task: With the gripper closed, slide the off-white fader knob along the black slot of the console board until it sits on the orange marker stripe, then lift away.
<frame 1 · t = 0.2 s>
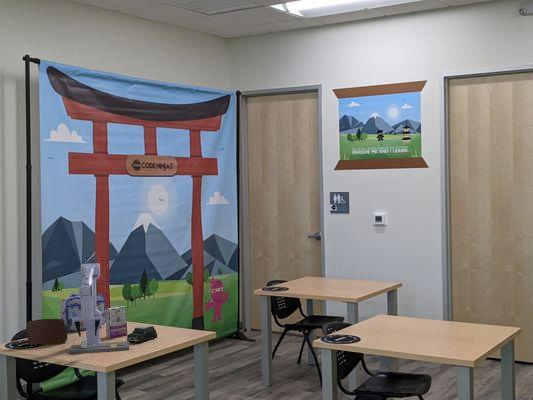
hand: (87, 335, 357), 10 cm above the table, tool pointing down, fingers open, 7 cm apart
fader knob: (83, 343, 368), point 4 cm above the table, slide at 0.0 cm
lunch box: (83, 329, 427), on the table
console board: (100, 348, 371), on the table
miniature car: (142, 341, 390), on the table
candy bar box: (116, 336, 403), on the table
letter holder: (47, 343, 391), on the table
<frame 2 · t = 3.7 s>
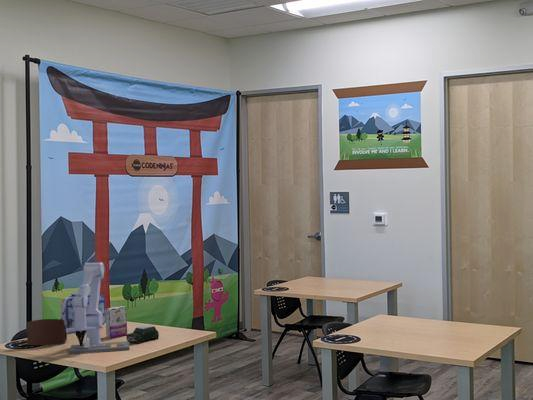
hand: (81, 345, 368), 3 cm above the table, tool pointing down, fingers closed
fader knob: (86, 342, 368), point 4 cm above the table, slide at 1.4 cm, touching gripper
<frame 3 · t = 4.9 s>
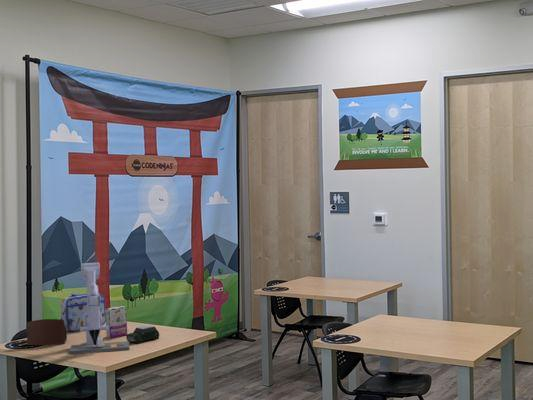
hand: (95, 344, 369), 3 cm above the table, tool pointing down, fingers closed
fader knob: (100, 342, 369), point 4 cm above the table, slide at 8.3 cm, touching gripper
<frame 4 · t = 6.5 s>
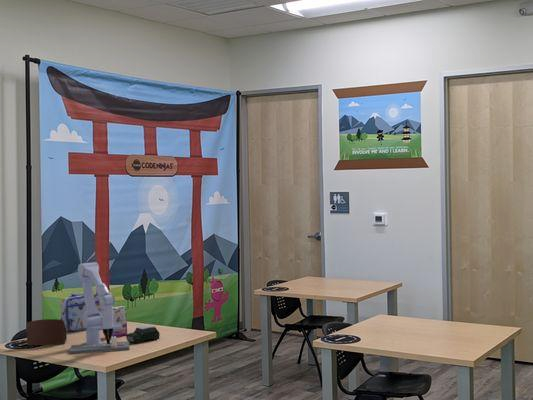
hand: (108, 343, 370), 3 cm above the table, tool pointing down, fingers closed
fader knob: (113, 341, 371), point 4 cm above the table, slide at 15.1 cm, touching gripper
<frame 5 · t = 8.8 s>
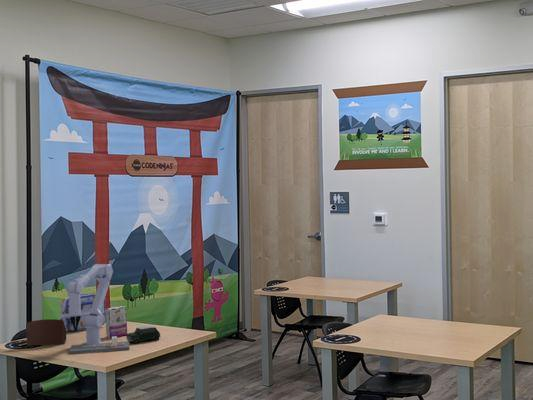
hand: (75, 331, 370), 10 cm above the table, tool pointing down, fingers closed
fader knob: (114, 341, 371), point 4 cm above the table, slide at 15.4 cm
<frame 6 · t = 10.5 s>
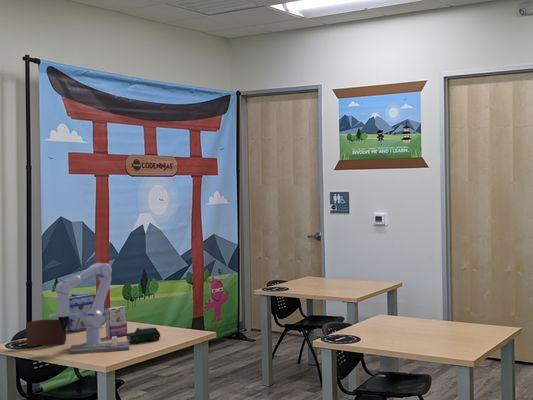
hand: (64, 331, 371), 10 cm above the table, tool pointing down, fingers closed
at the end: fader knob slide at 15.4 cm; the gripper is holding nothing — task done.
